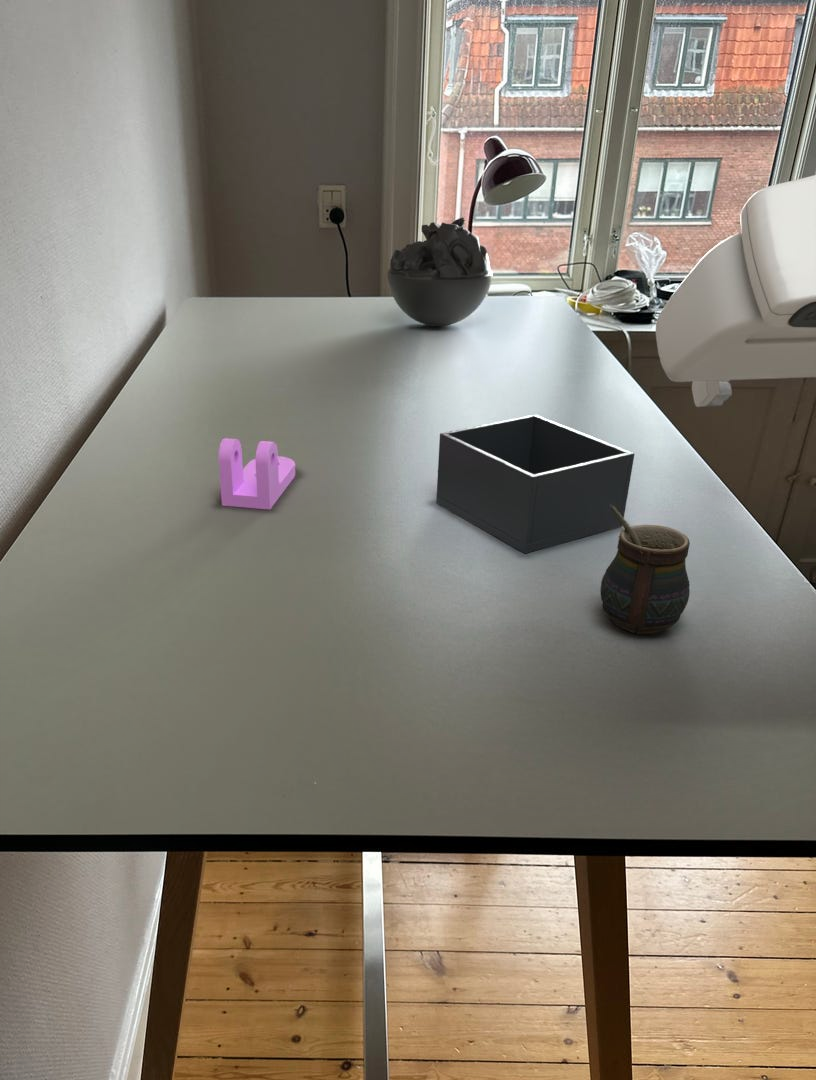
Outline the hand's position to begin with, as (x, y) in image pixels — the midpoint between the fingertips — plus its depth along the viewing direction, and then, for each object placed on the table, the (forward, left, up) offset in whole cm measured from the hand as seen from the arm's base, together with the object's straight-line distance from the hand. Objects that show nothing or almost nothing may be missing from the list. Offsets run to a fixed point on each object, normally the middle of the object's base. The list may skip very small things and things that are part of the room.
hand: (776, 393), depth 57 cm
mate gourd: (-5, -11, -23) cm, 26 cm away
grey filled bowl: (-58, -116, -23) cm, 132 cm away
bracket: (+9, -56, -23) cm, 62 cm away
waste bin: (-12, -34, -23) cm, 43 cm away
